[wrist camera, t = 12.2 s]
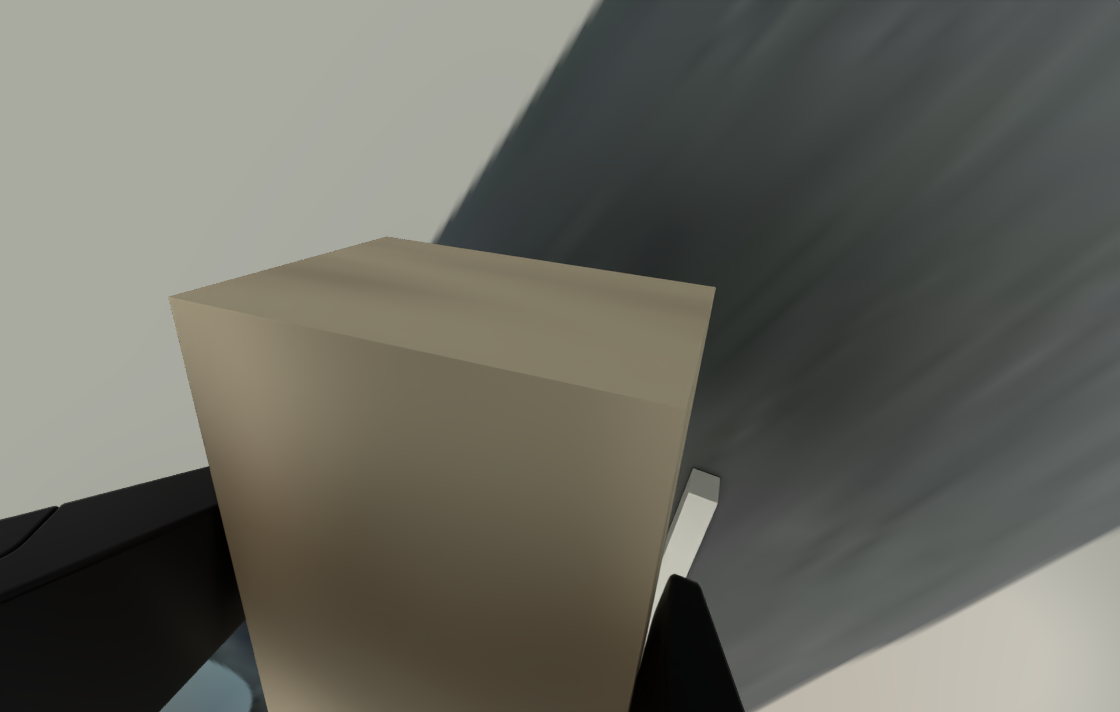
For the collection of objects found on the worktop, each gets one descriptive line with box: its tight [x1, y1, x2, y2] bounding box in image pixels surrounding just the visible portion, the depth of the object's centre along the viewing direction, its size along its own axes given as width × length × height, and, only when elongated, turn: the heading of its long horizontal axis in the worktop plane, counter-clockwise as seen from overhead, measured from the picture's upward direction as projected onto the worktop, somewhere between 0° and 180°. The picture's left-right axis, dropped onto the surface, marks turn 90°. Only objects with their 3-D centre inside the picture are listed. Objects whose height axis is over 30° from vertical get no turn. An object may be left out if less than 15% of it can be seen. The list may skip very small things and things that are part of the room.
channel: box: [645, 468, 720, 645], centre depth 22 cm, size 12×9×2 cm
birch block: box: [169, 237, 716, 712], centre depth 7 cm, size 7×5×4 cm
